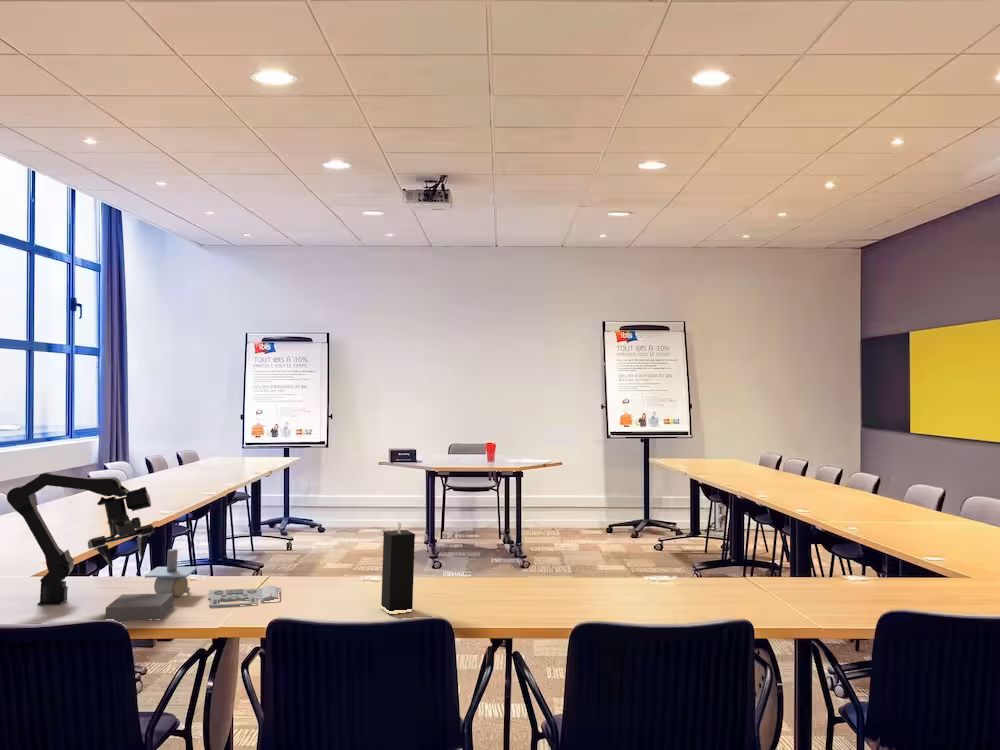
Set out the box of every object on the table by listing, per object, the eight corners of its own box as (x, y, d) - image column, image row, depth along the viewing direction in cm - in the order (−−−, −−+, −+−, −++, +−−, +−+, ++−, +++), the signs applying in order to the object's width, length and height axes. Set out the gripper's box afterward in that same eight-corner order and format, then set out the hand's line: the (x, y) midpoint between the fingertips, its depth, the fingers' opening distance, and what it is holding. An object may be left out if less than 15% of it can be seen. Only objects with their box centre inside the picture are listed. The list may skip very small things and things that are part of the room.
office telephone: (280, 583, 258) (283, 597, 239) (280, 591, 258) (282, 606, 239) (209, 586, 250) (206, 601, 231) (208, 593, 250) (205, 609, 231)
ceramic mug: (172, 600, 239) (174, 576, 240) (152, 597, 242) (154, 573, 242) (196, 593, 249) (197, 570, 250) (176, 590, 252) (177, 567, 252)
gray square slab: (105, 621, 215) (105, 607, 215) (121, 607, 230) (122, 594, 230) (159, 620, 218) (160, 606, 218) (172, 606, 232) (173, 593, 232)
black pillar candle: (388, 615, 228) (391, 524, 230) (380, 609, 235) (383, 520, 236) (412, 612, 232) (415, 523, 233) (404, 606, 239) (406, 519, 240)
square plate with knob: (144, 577, 237) (145, 554, 238) (157, 568, 250) (158, 546, 250) (186, 577, 239) (187, 553, 239) (197, 568, 252) (198, 546, 252)
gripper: (92, 519, 227) (102, 569, 225) (154, 504, 240) (165, 552, 238) (83, 523, 235) (93, 572, 233) (144, 509, 248) (154, 555, 246)
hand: (127, 562), depth 237 cm, fingers open, 9 cm apart
